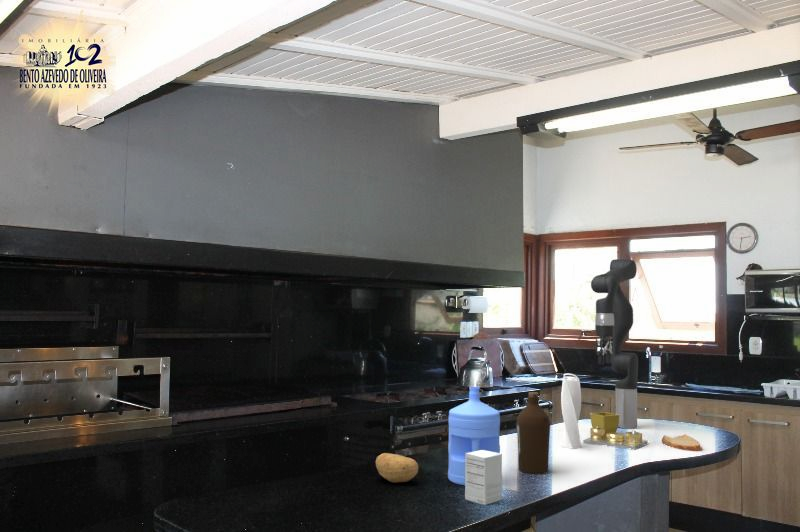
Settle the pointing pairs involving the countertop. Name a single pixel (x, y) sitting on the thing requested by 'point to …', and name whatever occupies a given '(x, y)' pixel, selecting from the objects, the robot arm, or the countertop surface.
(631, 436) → the gold octagonal ring
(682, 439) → the slice of bread
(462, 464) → the water jug
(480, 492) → the supplement box
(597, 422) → the flower pot
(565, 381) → the skyscraper
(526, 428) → the olive oil
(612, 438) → the carrier
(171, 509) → the countertop surface
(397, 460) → the potato
